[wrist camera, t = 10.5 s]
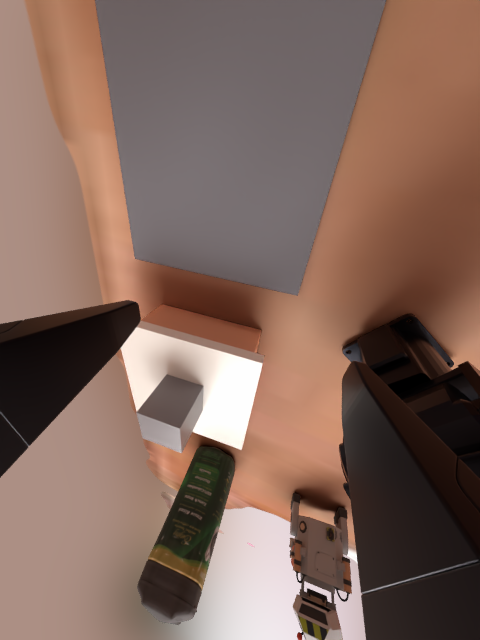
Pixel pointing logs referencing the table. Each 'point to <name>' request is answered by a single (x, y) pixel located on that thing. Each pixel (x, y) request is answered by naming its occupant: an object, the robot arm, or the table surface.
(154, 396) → the lid
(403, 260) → the table surface
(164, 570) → the coffee jar
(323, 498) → the table surface
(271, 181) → the mat
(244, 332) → the open box
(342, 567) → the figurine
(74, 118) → the table surface
